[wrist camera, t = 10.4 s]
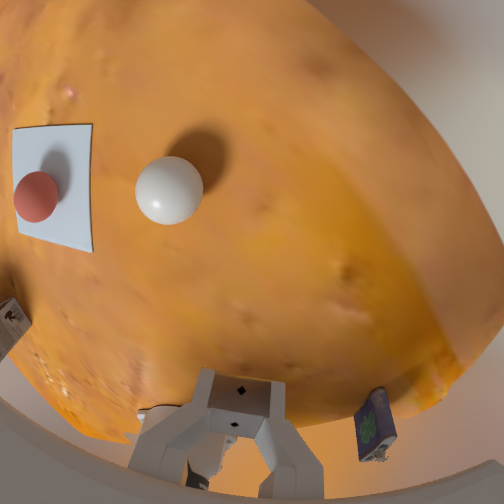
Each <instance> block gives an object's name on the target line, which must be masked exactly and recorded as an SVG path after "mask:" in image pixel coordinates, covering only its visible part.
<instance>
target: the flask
mask: <svg viewBox="0 0 504 504" xmlns="http://www.w3.org/2000/svg"><path fill="white" fill-rule="evenodd" d="M382 388H383V387H382ZM382 388H376V389H375V390H374V391H372V392H371V393H370V394H369V397H368V398H367V399H366V400H365V401H364V402H363V405H362V407H361V408H360V409H359V411H357V412H356V414H354V415H353V416H354V421H355V428H356V437H357V445H358V453H359V454H358V455H359V461H360V462H369V461H373V460H374V459H375V458H377V459H376V460H375V461H377V460H378V461H379V462H381V461H382V460H383V459H384V458H385V456H384V455H385V453H386V452H385V450H386V449H387V448H388V447H389V446H390V445H392V443H393V442H394V441H395V440H396V438H397V433H396V430H395V425H394V422H393V418H392V414H391V410H390V406H389V401H388V397H387V393H386V390H385V388H383V389H382ZM387 458H388V456H387ZM387 458H386V459H384V460H383V461H382V462H384V461H386V460H387Z"/></svg>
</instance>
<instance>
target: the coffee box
mask: <svg viewBox="0 0 504 504" xmlns="http://www.w3.org/2000/svg"><path fill="white" fill-rule="evenodd" d="M31 326H32V324H31V322H30V321H29V319H28V318H27V316H26V315H25V313H24V312H23V310H22V308H21V307H20V305H19V304H18V302H17V300H16V299H15V297H12V298H10V299H8V300H6V301H4V302H2V303H0V362H1V361H2V360H3V359H4V357H5V356H6V355H7V354H8V352H9V351H10V350H11V349H12V348H13V346H14V345H15V344H16V343H17V342H18V341H19V339H20V338H21V337H22V336H23V335H24V334H25V333H26V331H27V330H28V329H29V328H30V327H31Z"/></svg>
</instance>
